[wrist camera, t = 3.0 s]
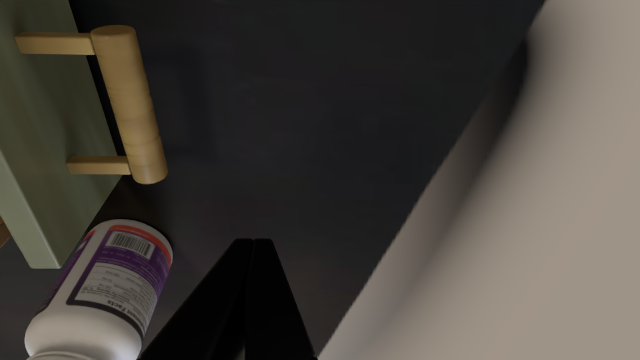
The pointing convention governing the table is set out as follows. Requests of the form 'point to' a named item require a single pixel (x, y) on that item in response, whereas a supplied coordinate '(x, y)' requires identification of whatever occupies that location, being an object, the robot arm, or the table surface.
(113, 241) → the pill bottle
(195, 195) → the table surface
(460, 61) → the table surface
